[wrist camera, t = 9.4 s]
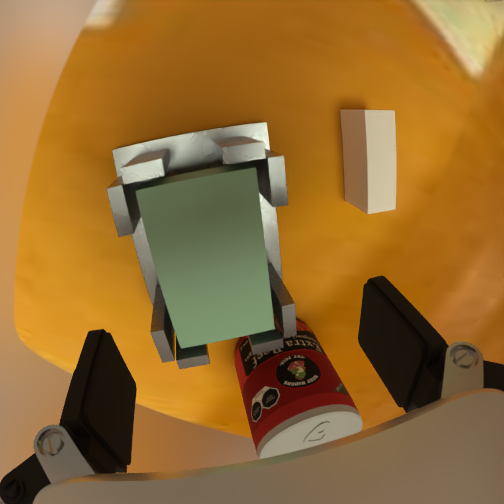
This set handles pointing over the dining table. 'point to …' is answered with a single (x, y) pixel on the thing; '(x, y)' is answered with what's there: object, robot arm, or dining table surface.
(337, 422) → the canned food
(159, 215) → the board
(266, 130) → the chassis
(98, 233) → the dining table surface
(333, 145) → the dining table surface
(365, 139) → the block
